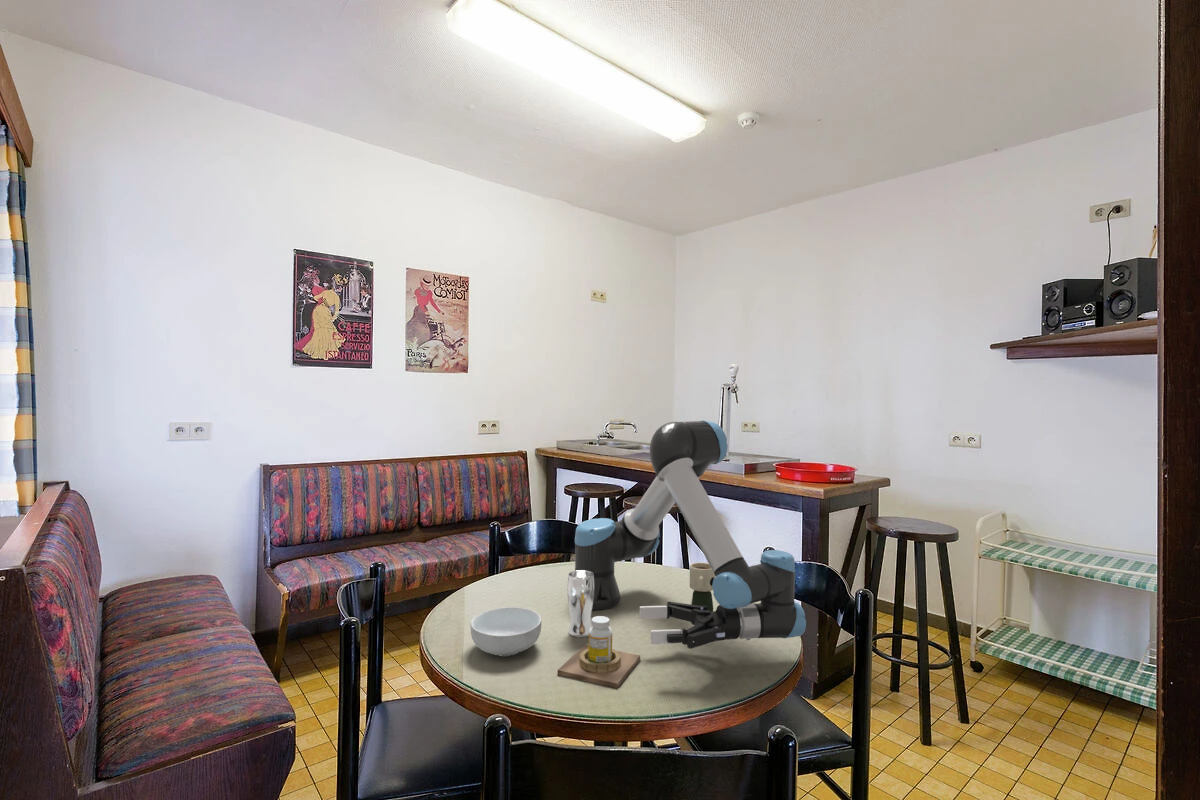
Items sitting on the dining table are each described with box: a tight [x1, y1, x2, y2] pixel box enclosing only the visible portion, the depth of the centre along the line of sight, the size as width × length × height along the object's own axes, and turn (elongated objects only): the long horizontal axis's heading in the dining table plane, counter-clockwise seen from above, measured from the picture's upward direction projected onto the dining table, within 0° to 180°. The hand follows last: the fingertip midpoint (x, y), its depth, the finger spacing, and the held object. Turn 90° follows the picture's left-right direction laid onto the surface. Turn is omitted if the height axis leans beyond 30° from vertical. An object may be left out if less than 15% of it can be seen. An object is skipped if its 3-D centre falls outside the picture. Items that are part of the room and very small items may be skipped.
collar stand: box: [557, 644, 641, 689], centre depth 127 cm, size 14×14×2 cm
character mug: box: [689, 561, 716, 612], centre depth 161 cm, size 11×7×13 cm, turn 166°
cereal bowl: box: [470, 606, 542, 657], centre depth 136 cm, size 17×17×7 cm
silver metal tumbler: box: [566, 570, 595, 638], centre depth 146 cm, size 7×7×15 cm
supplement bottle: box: [587, 615, 613, 663], centre depth 127 cm, size 5×5×10 cm
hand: (644, 624), depth 129 cm, fingers open, 13 cm apart
